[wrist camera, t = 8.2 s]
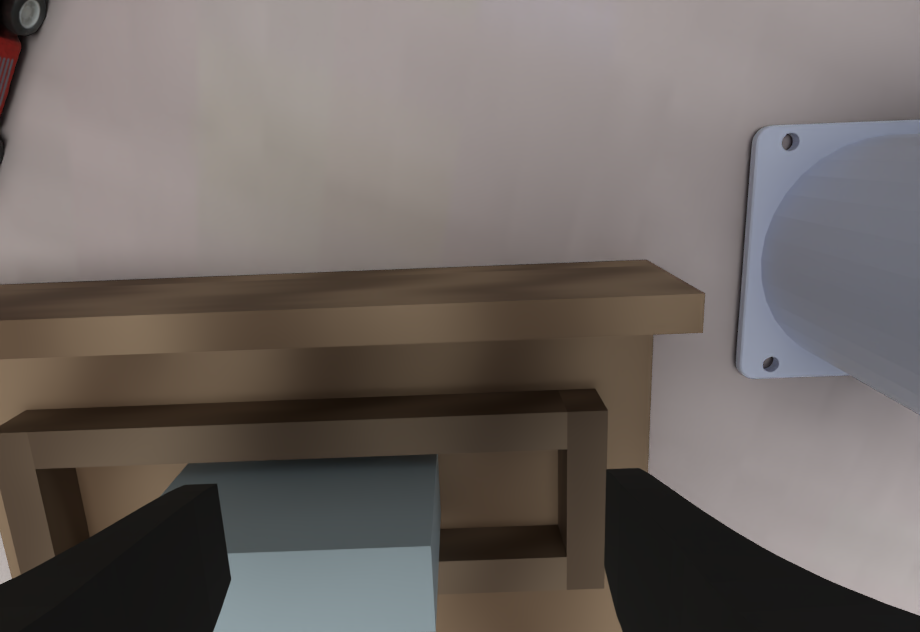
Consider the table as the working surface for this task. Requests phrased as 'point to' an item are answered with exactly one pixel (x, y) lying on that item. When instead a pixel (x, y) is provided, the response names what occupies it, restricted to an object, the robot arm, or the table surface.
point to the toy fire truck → (15, 38)
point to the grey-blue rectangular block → (328, 542)
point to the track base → (351, 407)
